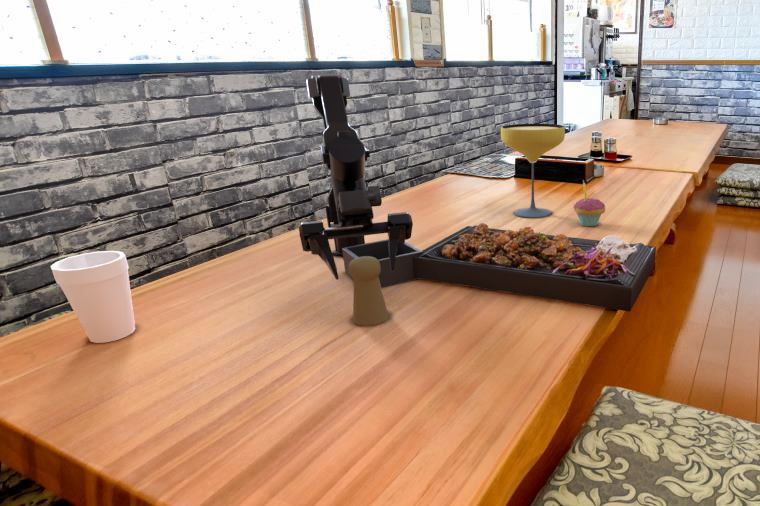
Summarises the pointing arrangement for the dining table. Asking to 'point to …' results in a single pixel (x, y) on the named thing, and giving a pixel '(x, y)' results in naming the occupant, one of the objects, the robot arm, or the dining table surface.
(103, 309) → the foam cup
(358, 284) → the cork
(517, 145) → the cocktail glass
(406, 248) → the dark grey open box
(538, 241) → the food platter
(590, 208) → the cupcake
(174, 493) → the dining table surface
